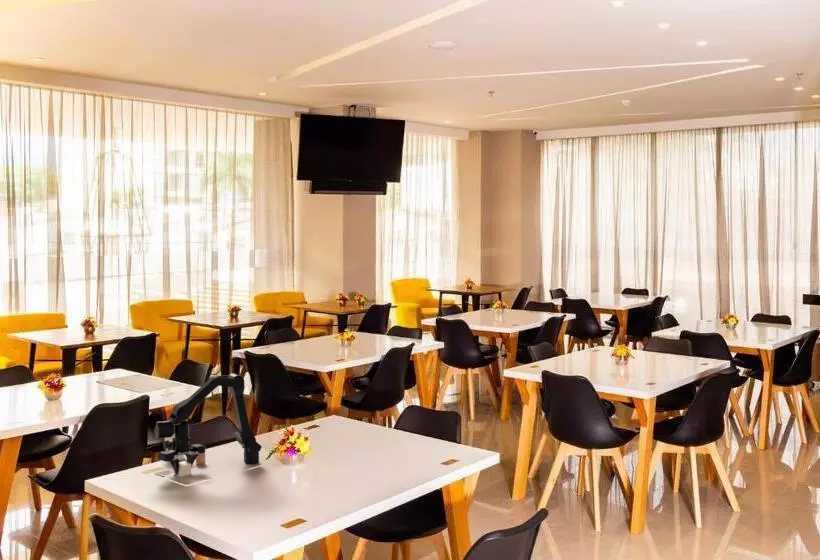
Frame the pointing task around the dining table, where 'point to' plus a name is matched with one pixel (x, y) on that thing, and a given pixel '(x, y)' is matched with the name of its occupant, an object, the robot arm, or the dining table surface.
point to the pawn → (200, 459)
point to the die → (184, 469)
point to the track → (173, 470)
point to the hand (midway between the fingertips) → (182, 473)
